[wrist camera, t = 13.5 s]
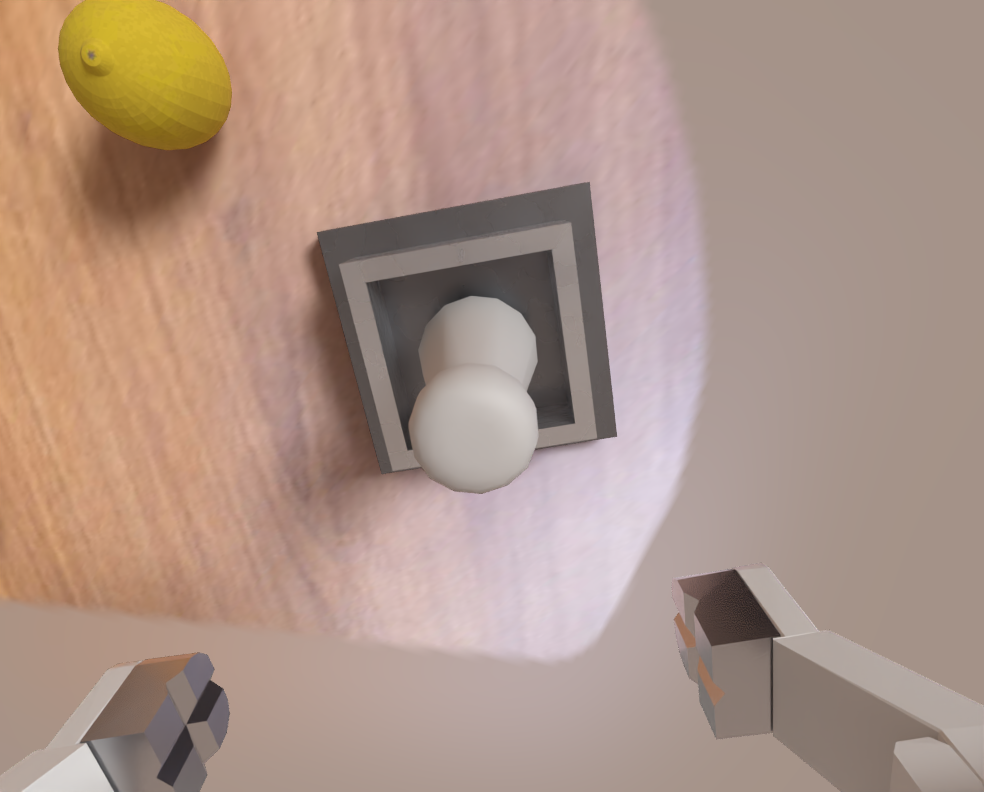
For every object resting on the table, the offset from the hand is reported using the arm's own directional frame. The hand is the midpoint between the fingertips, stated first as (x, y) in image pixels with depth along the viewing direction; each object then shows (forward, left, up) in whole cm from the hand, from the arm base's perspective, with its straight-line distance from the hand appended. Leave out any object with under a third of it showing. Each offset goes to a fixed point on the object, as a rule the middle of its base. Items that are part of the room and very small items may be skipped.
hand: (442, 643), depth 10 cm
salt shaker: (0, 0, -22) cm, 22 cm away
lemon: (-11, +14, -23) cm, 29 cm away
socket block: (0, 0, -23) cm, 23 cm away
